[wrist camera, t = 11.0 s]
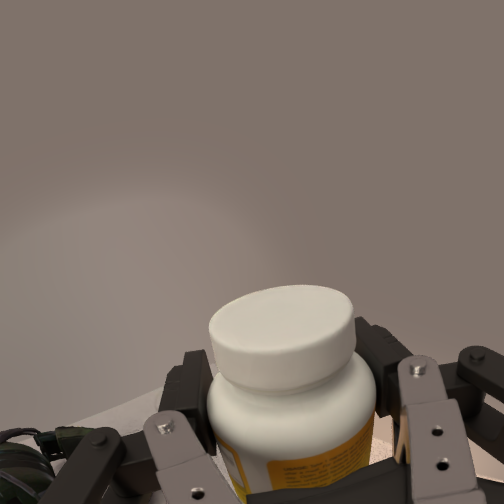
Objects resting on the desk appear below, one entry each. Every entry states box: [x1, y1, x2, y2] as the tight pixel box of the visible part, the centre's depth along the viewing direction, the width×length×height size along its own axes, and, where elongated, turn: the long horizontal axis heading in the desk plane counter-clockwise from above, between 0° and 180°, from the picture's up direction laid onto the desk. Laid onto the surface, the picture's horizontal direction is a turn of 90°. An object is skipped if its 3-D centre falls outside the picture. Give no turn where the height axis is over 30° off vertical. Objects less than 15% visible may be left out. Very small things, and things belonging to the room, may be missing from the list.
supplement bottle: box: [207, 285, 376, 504], centre depth 10 cm, size 5×5×10 cm
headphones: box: [0, 426, 102, 504], centre depth 19 cm, size 13×13×20 cm
